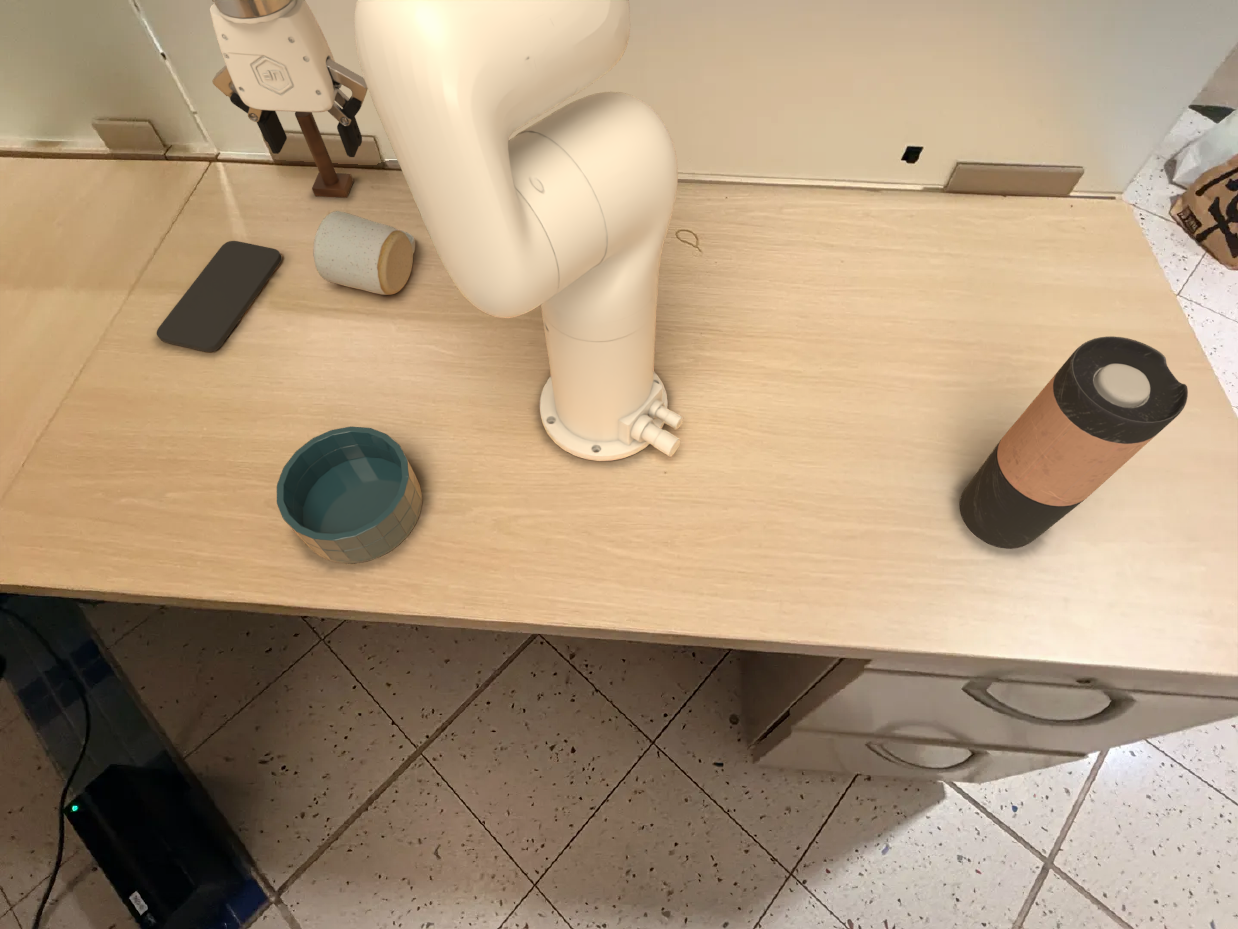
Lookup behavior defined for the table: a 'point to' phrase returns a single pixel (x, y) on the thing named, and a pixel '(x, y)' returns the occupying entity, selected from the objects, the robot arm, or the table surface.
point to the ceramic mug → (363, 253)
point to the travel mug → (1072, 439)
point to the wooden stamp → (323, 161)
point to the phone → (219, 296)
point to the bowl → (350, 494)
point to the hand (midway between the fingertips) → (317, 147)
